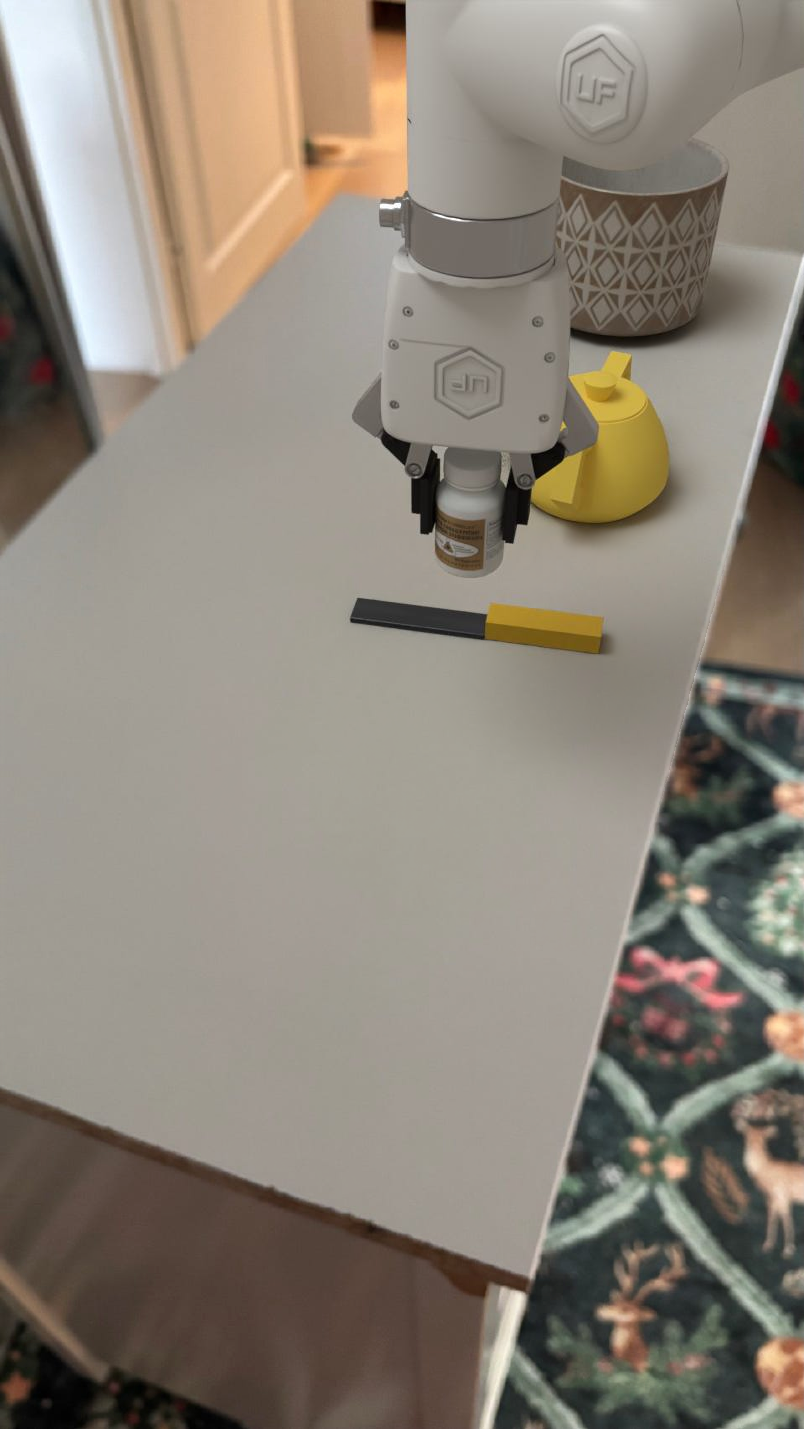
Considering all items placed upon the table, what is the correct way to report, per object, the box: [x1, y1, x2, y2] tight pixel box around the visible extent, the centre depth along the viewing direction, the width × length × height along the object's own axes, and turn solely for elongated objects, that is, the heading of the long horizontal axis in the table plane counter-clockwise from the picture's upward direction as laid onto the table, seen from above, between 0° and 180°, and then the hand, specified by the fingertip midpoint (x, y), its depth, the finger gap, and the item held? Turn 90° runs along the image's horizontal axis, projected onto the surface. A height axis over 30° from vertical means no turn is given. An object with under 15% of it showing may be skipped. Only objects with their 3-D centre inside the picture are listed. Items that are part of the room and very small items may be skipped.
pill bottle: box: [434, 447, 506, 579], centre depth 67 cm, size 4×4×8 cm
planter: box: [555, 136, 730, 337], centre depth 119 cm, size 19×19×16 cm
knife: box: [349, 597, 604, 655], centre depth 86 cm, size 20×3×2 cm, turn 78°
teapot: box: [531, 350, 670, 524], centre depth 97 cm, size 20×18×11 cm
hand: (470, 523), depth 67 cm, fingers closed on pill bottle, 4 cm apart
